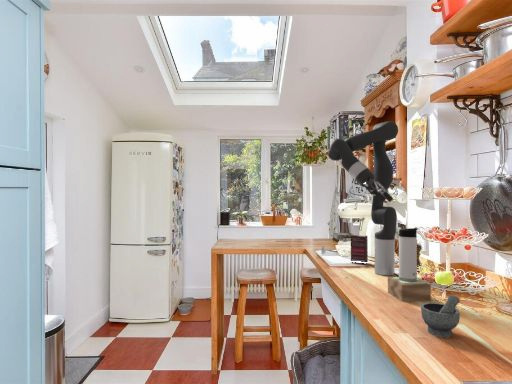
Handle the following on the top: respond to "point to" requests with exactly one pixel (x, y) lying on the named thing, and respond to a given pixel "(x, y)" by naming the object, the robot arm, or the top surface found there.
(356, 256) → the supplement box
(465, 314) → the top surface
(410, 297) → the block
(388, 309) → the top surface
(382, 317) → the top surface
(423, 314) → the mortar and pestle
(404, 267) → the travel mug
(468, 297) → the top surface
